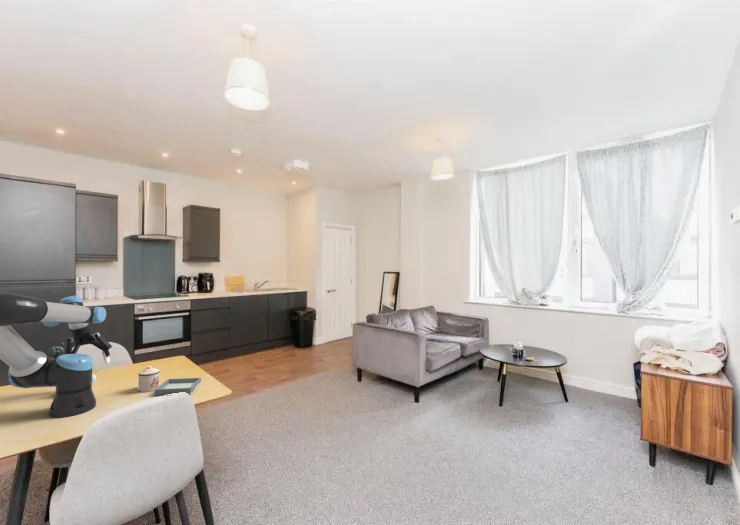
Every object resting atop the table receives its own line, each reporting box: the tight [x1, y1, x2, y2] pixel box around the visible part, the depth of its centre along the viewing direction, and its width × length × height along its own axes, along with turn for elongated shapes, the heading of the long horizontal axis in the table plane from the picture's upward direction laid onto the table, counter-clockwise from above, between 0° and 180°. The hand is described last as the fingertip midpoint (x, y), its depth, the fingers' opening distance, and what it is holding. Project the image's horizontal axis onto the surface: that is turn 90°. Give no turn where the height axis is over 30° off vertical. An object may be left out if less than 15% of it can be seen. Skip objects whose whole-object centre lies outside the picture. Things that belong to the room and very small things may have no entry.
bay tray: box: [154, 377, 202, 397], centre depth 167 cm, size 16×16×3 cm
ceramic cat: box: [46, 342, 66, 358], centre depth 179 cm, size 20×6×20 cm, turn 74°
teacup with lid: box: [137, 365, 160, 393], centre depth 168 cm, size 12×9×12 cm
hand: (93, 365), depth 165 cm, fingers open, 13 cm apart
